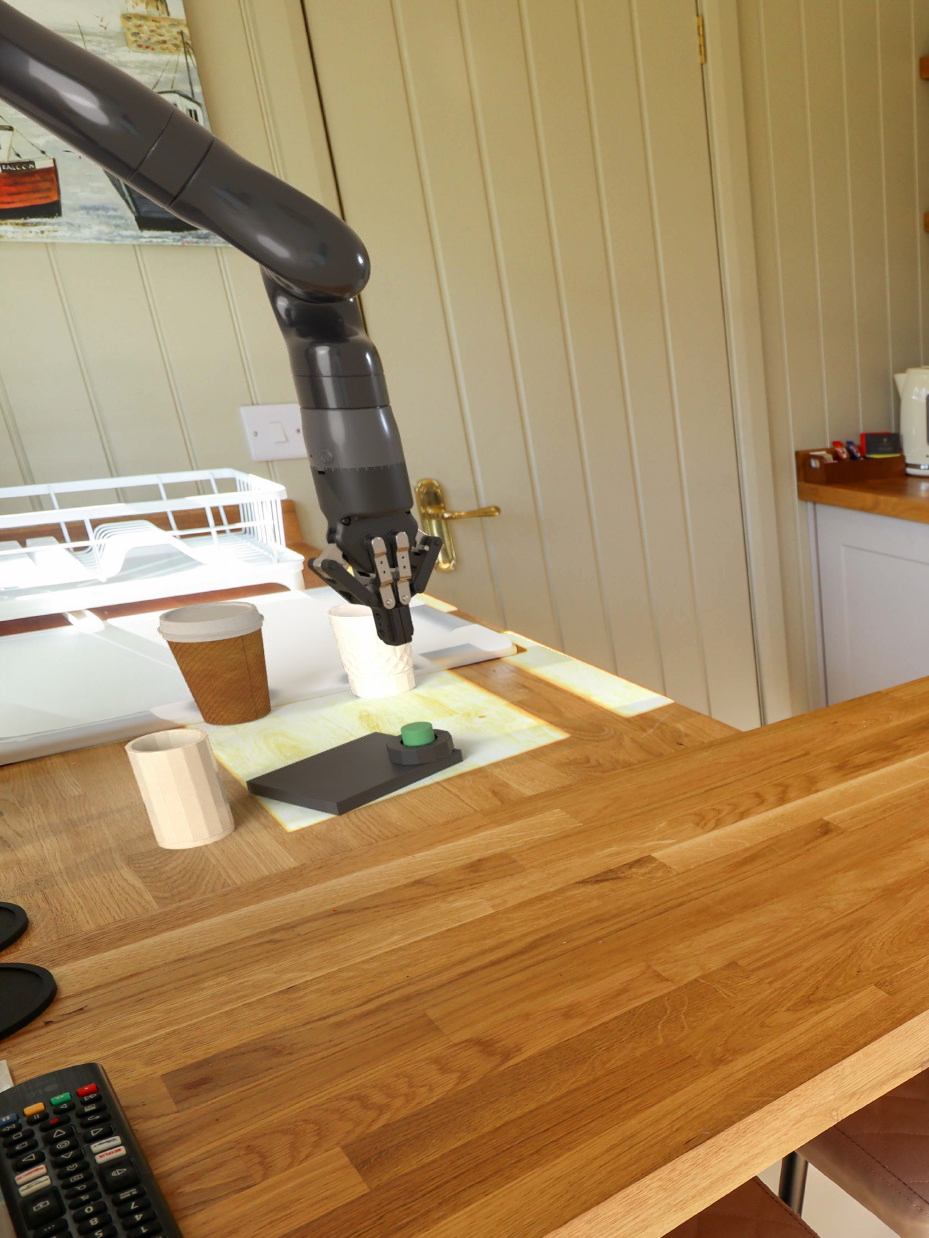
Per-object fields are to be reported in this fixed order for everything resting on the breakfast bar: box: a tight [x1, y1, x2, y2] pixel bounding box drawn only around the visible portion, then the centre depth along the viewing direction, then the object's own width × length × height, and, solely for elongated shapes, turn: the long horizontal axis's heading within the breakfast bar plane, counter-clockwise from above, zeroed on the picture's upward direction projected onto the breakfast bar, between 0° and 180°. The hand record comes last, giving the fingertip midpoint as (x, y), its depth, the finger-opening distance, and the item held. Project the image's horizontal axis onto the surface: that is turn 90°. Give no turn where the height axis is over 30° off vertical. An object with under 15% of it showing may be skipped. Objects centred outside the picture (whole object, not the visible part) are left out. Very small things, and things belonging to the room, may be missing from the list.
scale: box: [245, 728, 464, 817], centre depth 107 cm, size 14×12×3 cm
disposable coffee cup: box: [156, 600, 272, 726], centre depth 120 cm, size 10×10×12 cm
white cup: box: [327, 602, 417, 699], centre depth 129 cm, size 8×8×10 cm
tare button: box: [400, 721, 435, 746], centre depth 109 cm, size 3×3×2 cm
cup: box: [124, 727, 236, 850], centre depth 94 cm, size 6×6×9 cm
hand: (398, 643), depth 105 cm, fingers closed
